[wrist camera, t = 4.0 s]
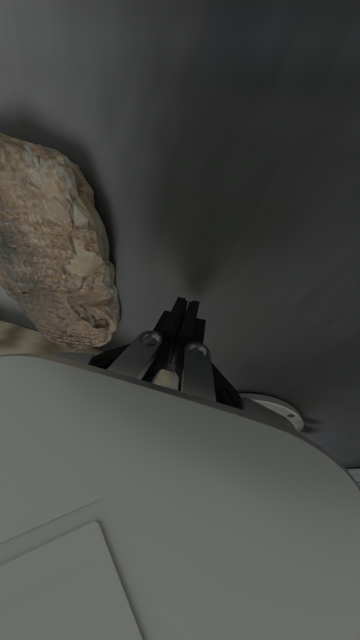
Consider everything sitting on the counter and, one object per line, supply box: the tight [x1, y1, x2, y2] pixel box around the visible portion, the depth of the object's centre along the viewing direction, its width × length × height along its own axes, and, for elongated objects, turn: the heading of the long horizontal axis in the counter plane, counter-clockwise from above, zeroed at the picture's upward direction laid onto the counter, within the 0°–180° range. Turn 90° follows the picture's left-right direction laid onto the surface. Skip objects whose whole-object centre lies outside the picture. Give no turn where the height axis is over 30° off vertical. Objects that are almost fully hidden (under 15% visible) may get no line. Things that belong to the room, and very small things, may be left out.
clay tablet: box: [0, 132, 120, 352], centre depth 14 cm, size 14×5×20 cm
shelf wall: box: [0, 320, 174, 388], centre depth 20 cm, size 40×2×9 cm, turn 83°
